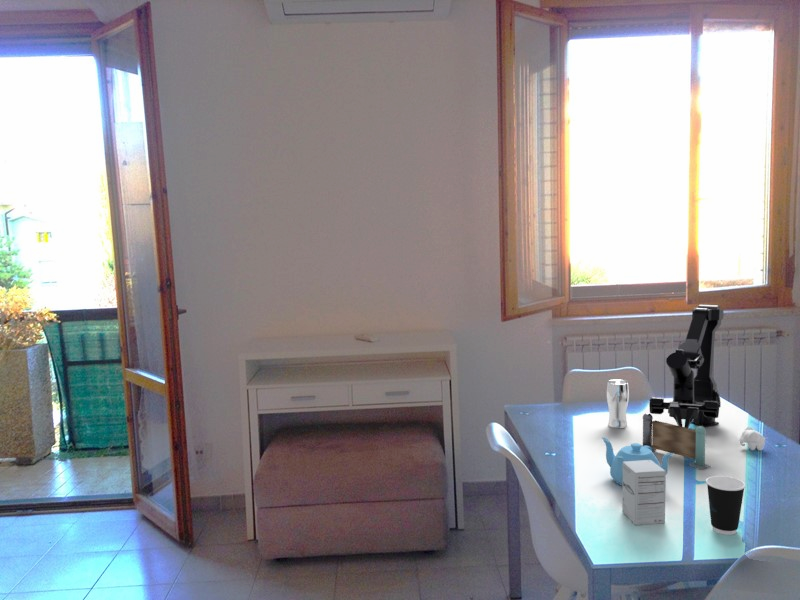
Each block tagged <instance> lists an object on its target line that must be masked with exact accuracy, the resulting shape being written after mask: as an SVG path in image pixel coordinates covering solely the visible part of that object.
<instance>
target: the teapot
mask: <svg viewBox="0 0 800 600" xmlns="http://www.w3.org/2000/svg"><path fill="white" fill-rule="evenodd" d="M601 440H603V442H604V443H605V447H606V448H605V449H606V451H605V452H606V453H605V459H606V463H607V464H608V466H609V467H610V468H609V469H610V470H609V474H610V476H611V478H612V479H613V481H615V482H616V484H617V485H620V486H622V487H623V462H625V461H639V460H652V461H653V462H654V463H656V464H657V465H659V466H660V467H661V468H662V469H664V470H665V471H666V475H667V474H668V470H669V459H670V457H672V456H674V455H675V454H674V453H669V452H668V453H665V454H664V455H663V456H662V459H661V464H660V462H659V459H658V458H657V457H656V455H655V454H654V452H652V448H651V447H649V446H643V447H641V446H642V445H643V444H640V443H637V442H635V443H631V444H630V445H627V446H622V447H621V449H619V451H618V452H617V453H616V454H615V453H614V450H613V445H612V442H611V441H610V440H609V439H607V438H606V437H601Z"/></svg>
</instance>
